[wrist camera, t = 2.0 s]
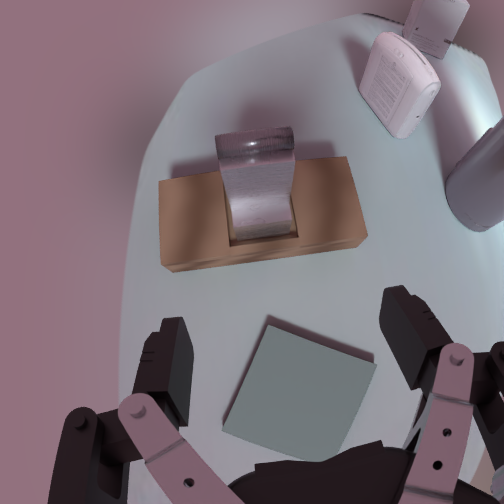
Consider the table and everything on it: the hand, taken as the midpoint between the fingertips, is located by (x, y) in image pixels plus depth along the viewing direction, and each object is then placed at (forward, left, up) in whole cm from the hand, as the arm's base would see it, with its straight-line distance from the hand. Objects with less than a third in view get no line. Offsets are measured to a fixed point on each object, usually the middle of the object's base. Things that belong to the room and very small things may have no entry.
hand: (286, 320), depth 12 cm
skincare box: (-56, +9, -20) cm, 60 cm away
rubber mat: (+6, +5, -20) cm, 21 cm away
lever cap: (-10, -6, -17) cm, 20 cm away
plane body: (-10, -6, -20) cm, 23 cm away
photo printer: (-32, +4, -20) cm, 38 cm away
